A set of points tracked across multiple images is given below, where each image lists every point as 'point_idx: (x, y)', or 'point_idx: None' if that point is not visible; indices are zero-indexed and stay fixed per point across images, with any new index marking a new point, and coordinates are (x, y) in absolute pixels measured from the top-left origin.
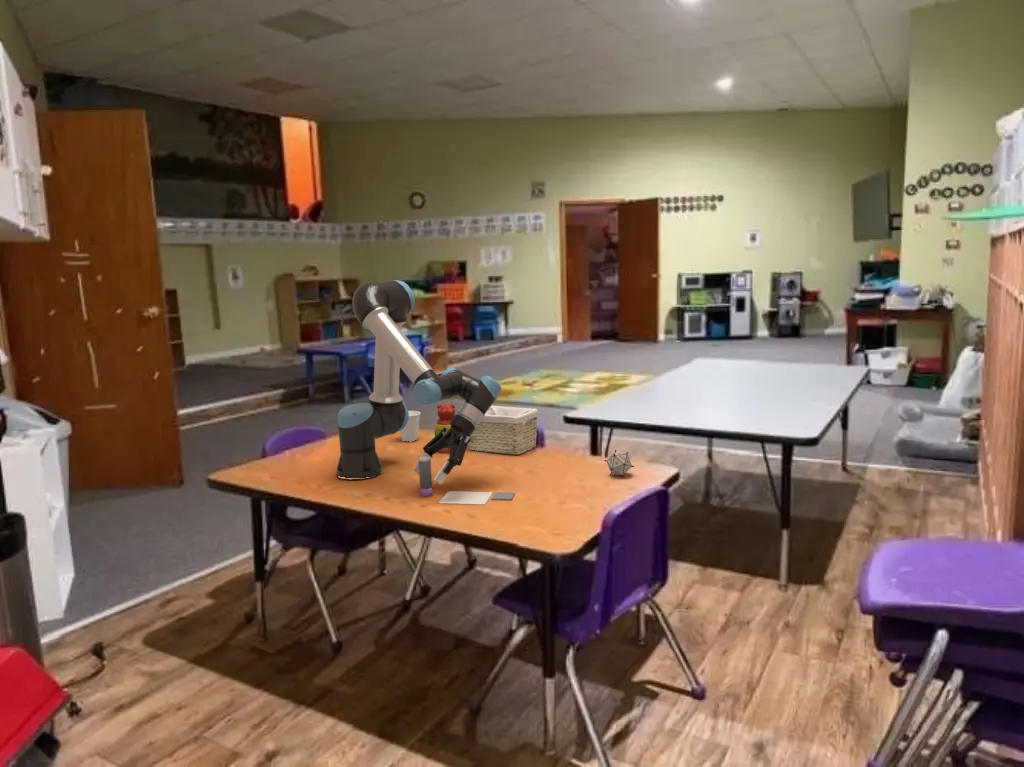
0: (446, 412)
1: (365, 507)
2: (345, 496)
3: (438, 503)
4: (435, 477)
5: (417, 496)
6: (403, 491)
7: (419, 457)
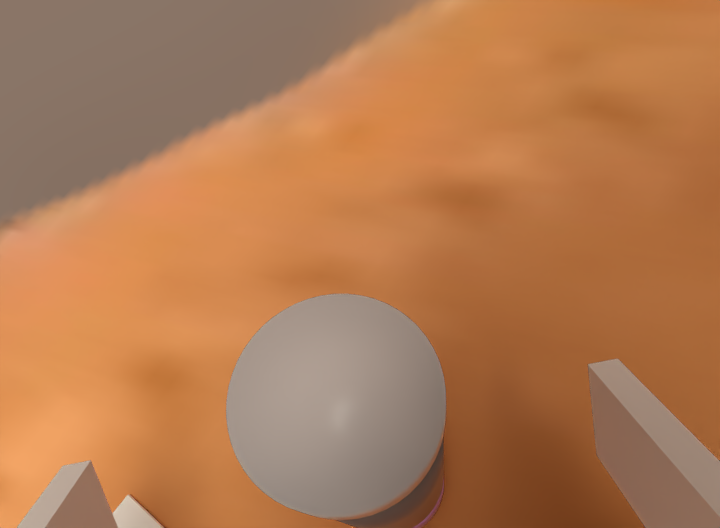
0: None
1: (356, 74)
2: (627, 6)
3: (128, 495)
4: (66, 478)
5: None
6: (584, 333)
7: (351, 315)
